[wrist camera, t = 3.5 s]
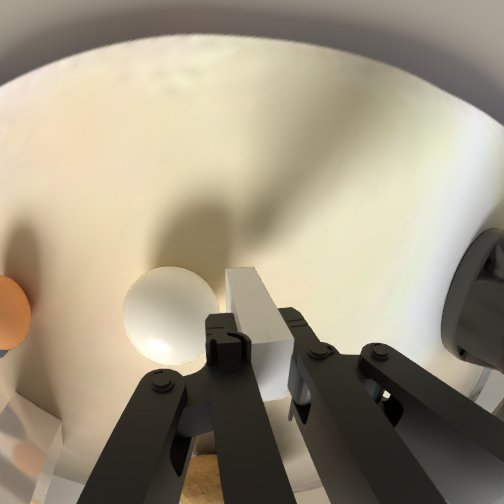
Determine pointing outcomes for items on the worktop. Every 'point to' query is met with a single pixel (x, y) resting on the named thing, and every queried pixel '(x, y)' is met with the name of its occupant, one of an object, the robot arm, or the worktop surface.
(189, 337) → the cue ball
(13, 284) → the object ball
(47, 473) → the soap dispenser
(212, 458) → the potato
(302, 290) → the worktop surface
